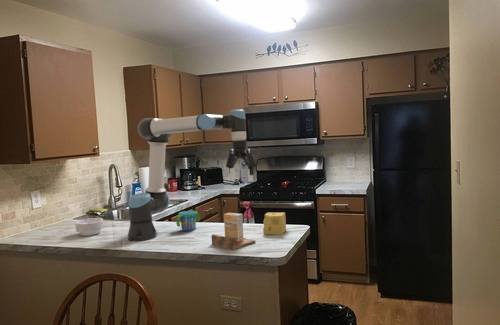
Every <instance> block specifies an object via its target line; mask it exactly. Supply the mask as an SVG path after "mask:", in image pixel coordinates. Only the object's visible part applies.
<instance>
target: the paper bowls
mask: <svg viewBox="0 0 500 325" xmlns="http://www.w3.org/2000/svg"><path fill="white" fill-rule="evenodd" d="M74 224H75V231H76V232H77V233H79V234H80V236H84V237H85V236H86V237H88V236H89V237H90V236H95V235H98V234H100V232H101V231H102V229H104V227H105V225H104V219H103V218H100V217H94V218H83V219H81V220H77V221H75V223H74Z"/></svg>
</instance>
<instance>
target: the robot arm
mask: <svg viewBox="0 0 500 325" xmlns="http://www.w3.org/2000/svg"><path fill="white" fill-rule="evenodd" d="M246 119H247V117H246V111H245V110H244V109H231V110H230V112H229V114H209V113H204V114H200V115H191V116H182V117H173V118H161V117H156V118H155V117H153V118H152V117H147V118H142V119H141V120H140V121H139V122H138V125H137V133H138V135H139V136H140V137H141V138H143V139H146V140H147V141H146V142H147V143H148V145H149V160H148V161H149V164H148V165H149V166H148V185H147V188H146V189H145V192H139V193H135V194H133V195H130V196H129V198H128V204H127V205H128V213H129V215H128V216H129V224H130V225H129V229H128V232H127V239H128V240H129V241H132V242H133V241H135V242H136V241H146V240H151V239H154V238H156V237H157V235H158V234H157V230H156V227H155V225H154V223H153V215H156V214H160V213H162V212H164V211H165V210H167V209H168V208H169V205H170V199H171V198H170V196H169V195H168V193H167V189H166V188H165V167H166V165H165V164H166V146H167V145H168V144H169V141H170V140H169V139H170V138H171V137H172V135H173V134H178V133H179V134H180V133H186V132H199V131H219V130H230V131H231V140H232V141H231V146H232V148H233V149H229V150H228V151H229V152H228V158H227V161H226V164H225V167H226V168H228V172H229V178H230V179H229V180H230V182H232V181H233V182H234V181H236V173H235V172H236V171H235V170H236V169H235V165H236V163H237V161H238V159H242V160H243V162H245V165H246V166H247V167H248V168H247V179H248V180H247V182H248V183H251V182H254V169H255V168H256V167H257V164H256V162H255V160H254V157H253V154H252V150H251V148H247V147H248V142H247V141H248V140H246V139H247V124H246V123H247V122H246Z"/></svg>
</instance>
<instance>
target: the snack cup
mask: <svg viewBox="0 0 500 325" xmlns="http://www.w3.org/2000/svg"><path fill="white" fill-rule="evenodd" d="M200 219H201V218H200V214H199V213H198V211H197V210H185V211H184V210H183V211H180V212H178V215H177V218H176V223H175V224H176V226H177V227H181V230H182V231H184V232H190V231H191V232H192V231H194V229H195V230H196V226H197V222H198V223H199V222H200Z"/></svg>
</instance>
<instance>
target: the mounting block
mask: <svg viewBox="0 0 500 325" xmlns="http://www.w3.org/2000/svg"><path fill="white" fill-rule="evenodd" d="M243 238H244V240H242V241H240V242H236V239H233V238H229V237H225V235H224V236H223V235H218V234H215V233H214V234H213V233H212V234H211V245H214V246H215V247H221V248H226V249H230V250H233V251H235V250H238V249H241V248H244V247H248V246H250V245H253V244H256V240H255V239H252V238H251V239H250V238H245V237H243Z"/></svg>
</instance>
